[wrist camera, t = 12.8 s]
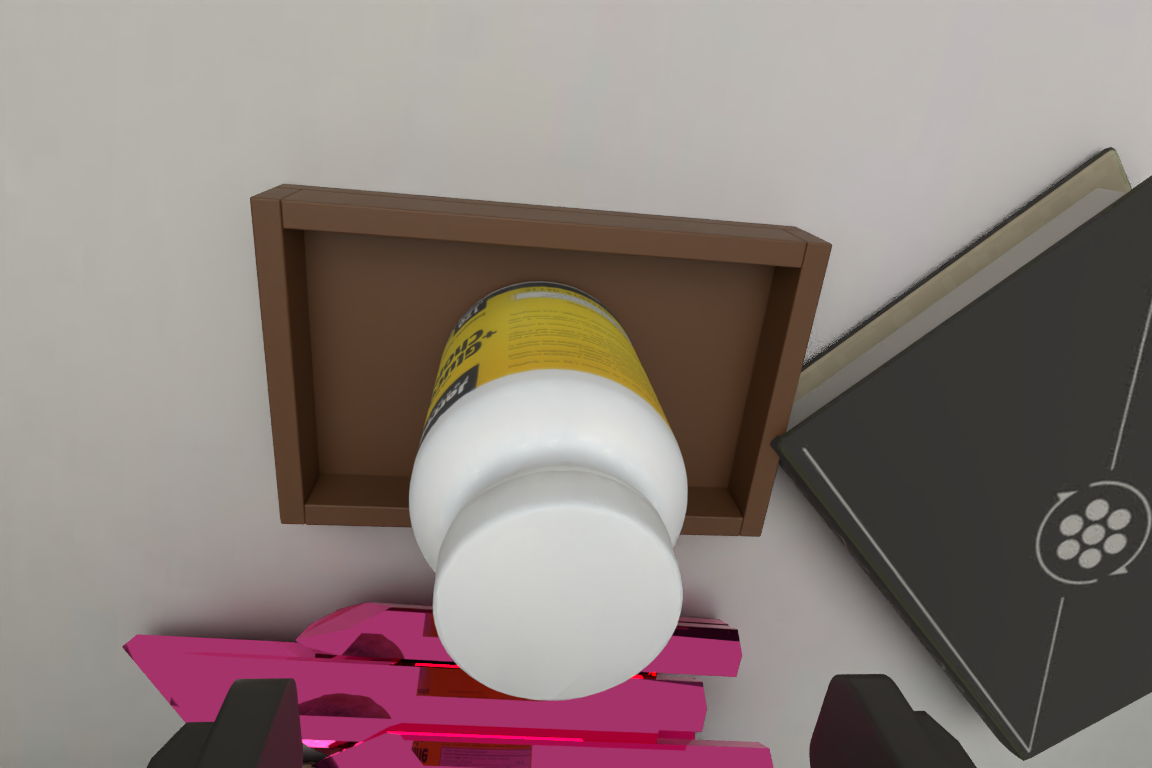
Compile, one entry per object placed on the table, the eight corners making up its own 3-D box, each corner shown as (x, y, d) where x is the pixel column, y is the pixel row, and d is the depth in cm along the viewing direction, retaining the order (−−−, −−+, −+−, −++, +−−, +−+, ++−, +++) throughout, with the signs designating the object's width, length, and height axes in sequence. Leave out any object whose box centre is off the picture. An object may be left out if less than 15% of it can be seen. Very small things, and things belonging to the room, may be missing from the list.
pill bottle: (508, 236, 21) (505, 385, 10) (669, 341, 23) (804, 558, 12) (405, 395, 23) (315, 659, 12) (562, 481, 25) (600, 773, 14)
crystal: (753, 848, 27) (65, 837, 23) (712, 733, 32) (146, 710, 28) (808, 682, 24) (41, 640, 20) (755, 586, 29) (135, 540, 26)
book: (739, 410, 25) (766, 450, 22) (1108, 143, 22) (1193, 151, 19) (976, 709, 33) (1018, 766, 30) (1270, 541, 30) (1347, 587, 27)
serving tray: (304, 479, 25) (280, 524, 22) (281, 183, 21) (249, 196, 18) (737, 494, 27) (760, 537, 24) (797, 226, 22) (833, 244, 20)
